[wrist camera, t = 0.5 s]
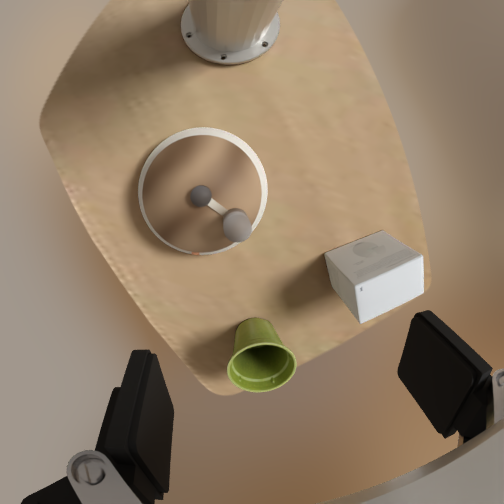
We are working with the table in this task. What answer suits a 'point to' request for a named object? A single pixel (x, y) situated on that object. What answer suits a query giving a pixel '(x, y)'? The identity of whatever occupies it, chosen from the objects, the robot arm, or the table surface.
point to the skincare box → (375, 274)
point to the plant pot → (259, 358)
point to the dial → (202, 194)
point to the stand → (212, 132)
